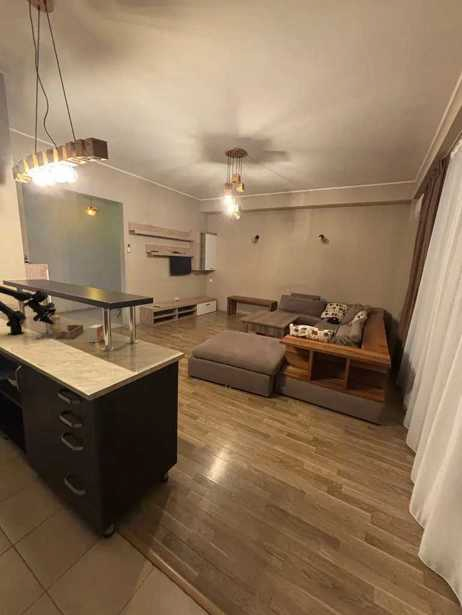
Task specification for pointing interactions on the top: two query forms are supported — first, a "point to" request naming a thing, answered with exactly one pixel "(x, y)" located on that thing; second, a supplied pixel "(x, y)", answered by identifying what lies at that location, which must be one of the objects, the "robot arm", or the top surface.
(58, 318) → the ash block
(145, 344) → the top surface
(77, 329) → the walnut crate
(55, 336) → the slate mat
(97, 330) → the small box
